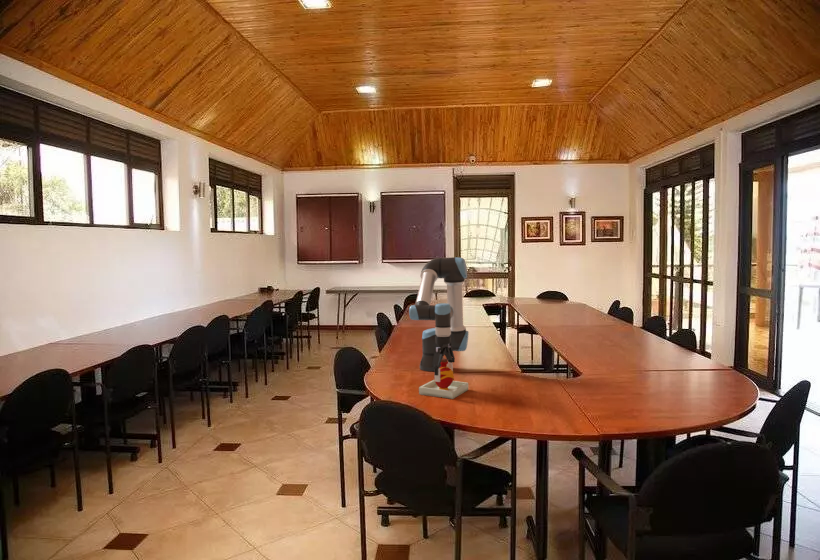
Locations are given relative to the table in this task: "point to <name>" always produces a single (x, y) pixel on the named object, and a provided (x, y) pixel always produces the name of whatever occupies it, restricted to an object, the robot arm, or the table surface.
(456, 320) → the robot arm
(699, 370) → the table surface
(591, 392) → the table surface
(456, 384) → the bin
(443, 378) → the potion bottle
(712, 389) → the table surface
